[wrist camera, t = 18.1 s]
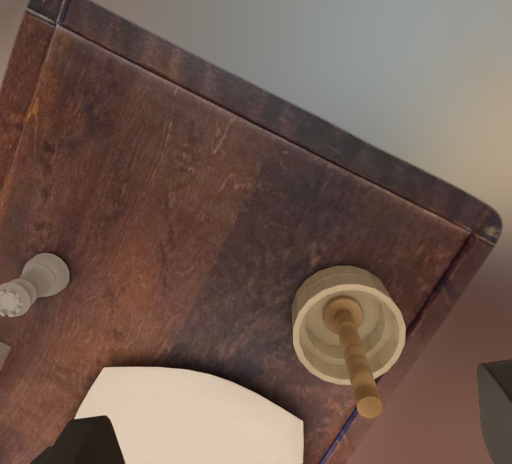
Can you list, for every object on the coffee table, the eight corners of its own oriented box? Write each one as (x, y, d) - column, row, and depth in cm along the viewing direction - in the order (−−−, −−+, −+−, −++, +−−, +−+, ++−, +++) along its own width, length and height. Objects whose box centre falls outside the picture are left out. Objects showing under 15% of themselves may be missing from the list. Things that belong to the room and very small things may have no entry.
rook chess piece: (25, 252, 47) (-25, 280, 39) (68, 250, 47) (26, 279, 39) (33, 292, 48) (-14, 328, 40) (75, 290, 48) (35, 326, 40)
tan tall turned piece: (338, 287, 46) (365, 372, 31) (369, 309, 46) (411, 402, 32) (314, 317, 47) (329, 412, 32) (345, 337, 47) (375, 441, 33)
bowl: (331, 244, 45) (337, 262, 40) (411, 299, 46) (429, 324, 41) (272, 320, 48) (271, 347, 42) (350, 371, 49) (358, 403, 43)
